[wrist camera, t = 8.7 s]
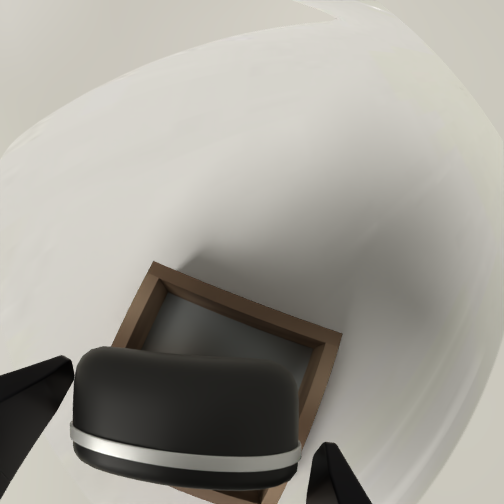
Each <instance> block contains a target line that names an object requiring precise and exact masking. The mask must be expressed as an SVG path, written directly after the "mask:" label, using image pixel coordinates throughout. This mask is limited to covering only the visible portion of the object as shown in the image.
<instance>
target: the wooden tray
mask: <svg viewBox="0 0 504 504" xmlns="http://www.w3.org/2000/svg"><path fill="white" fill-rule="evenodd" d="M341 338H342V333H339V332H336V331H333V330H330V329H327V328H324V327H321V326H319V325H316V324H313V323H310V322H307V321H304V320H302V319H299V318H296V317H293V316H291V315H288V314H285V313H282V312H280V311H277V310H274V309H272V308H269V307H266V306H264V305H261V304H258V303H256V302H253V301H251V300H248V299H245V298H243V297H240V296H238V295H235V294H232V293H230V292H227V291H225V290H222V289H220V288H217V287H215V286H212V285H210V284H207V283H205V282H202V281H200V280H198V279H195V278H193V277H190V276H188V275H185V274H183V273H181V272H178V271H176V270H173V269H171V268H169V267H166V266H164V265H162V264H159V263H157V262H155V261H153V263H152V265H151V267H150V269H149V270H148V272H147V274H146V276H145V278H144V280H143V282H142V284H141V286H140V288H139V290H138V292H137V294H136V296H135V298H134V300H133V302H132V304H131V306H130V308H129V310H128V312H127V314H126V316H125V318H124V320H123V322H122V324H121V326H120V328H119V331H118V333H117V335H116V337H115V339H114V341H113V344H112V346H111V347H120V348H129V349H137V350H145V351H154V352H162V353H174V354H186V355H199V356H216V357H240V358H257V359H267V360H272V361H274V362H276V363H279V364H281V365H283V366H284V367H285V368H286V369H287V370H288V371H290V372H291V373H292V375H293V377H294V379H295V381H296V384H297V388H298V397H299V435H298V440H299V441H300V443H301V451H302V449H303V446H304V444H305V441H306V439H307V437H308V434H309V432H310V429H311V426H312V424H313V421H314V419H315V416H316V413H317V411H318V408H319V405H320V403H321V400H322V397H323V394H324V391H325V388H326V385H327V383H328V380H329V377H330V374H331V370H332V367H333V364H334V361H335V358H336V355H337V351H338V348H339V345H340V341H341ZM286 484H287V482H286V483H283V484H281V485H279V486H276V487H272V488H267V489H262V490H247V491H226V490H206V489H193V488H183V487H175V486H170V487H173V488H175V489H177V490H180V491H182V492H185V493H187V494H190V495H192V496H195V497H198V498H200V499H203V500H206V501H209V502H212V503H215V504H277V503H278V501H279V499H280V497H281V495H282V493H283V491H284V489H285V487H286Z"/></svg>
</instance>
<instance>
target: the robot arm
mask: <svg viewBox="0 0 504 504" xmlns="http://www.w3.org/2000/svg"><path fill="white" fill-rule="evenodd" d="M74 376H75V375H74V370H73V365H72V361H71V360H70V359H69V358H67V357H65V356H63V355H61V356H57V357H54V358H52V359H49V360H46V361H43V362H40V363H37V364H34V365H31V366H28V367H25V368H22V369H19V370H16V371H13V372H10V373H7V374H3V375H0V499H1V498H2V496H3V494H4V492H5V491H6V489H7V487H8V485H9V484H10V481H11V480H12V479H13V477H14V475H15V474H16V472H17V470H18V469H19V467H20V466H21V464H22V462H23V461H24V459H25V458H26V456H27V455H28V453H29V451H30V450H31V448H32V447H33V445H34V444H35V442H36V441H37V439H38V438H39V436H40V435H41V433H42V432H43V430H44V429H45V427H46V426H47V425H48V423H49V422H50V420H51V419H52V417H53V416H54V414H55V413H56V411H57V410H58V408H59V406H60V404H61V403H62V401H63V399H64V397H65V395H66V393H67V391H68V390H69V388H70V386H71V384H72V382H73V380H74ZM306 504H372V503H371V501H370V499H369V498H368V496H367V495H366V493H365V491H364V490H363V488H362V486H361V485H360V483H359V481H358V480H357V478H356V476H355V475H354V473H353V471H352V470H351V468H350V466H349V465H348V463H347V461H346V459H345V458H344V456H343V454H342V453H341V451H340V449H339V448H338V446H337V444H335V443H331V442H324V443H322V445H321V446H320V447H319V449H318V450H317V451H316V452H315V454H314V456H313V460H312V466H311V473H310V479H309V484H308V490H307V498H306Z"/></svg>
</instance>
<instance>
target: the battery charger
mask: <svg viewBox="0 0 504 504" xmlns="http://www.w3.org/2000/svg"><path fill="white" fill-rule="evenodd" d="M298 435H299V397H298V388H297V384H296V381H295V379H294V377H293V375H292V373H291V372H290V371H288V370H287V369H286V368H285V367H284V366H283V365H281V364H279V363H276V362H274V361H272V360H267V359H257V358H240V357H216V356H199V355H186V354H174V353H162V352H154V351H145V350H137V349H129V348H120V347H106V346H103V347H99V348H95V349H91V350H90V351H89V352H87V353H86V354H85V355H83V356H82V358H81V360H80V361H79V363H78V365H77V368H76V373H75V379H74V393H73V421H71V422H70V437H71V439H72V440H73V447H74V451H75V453H76V455H77V456H78V457H79V459H80V460H81V461H83V462H84V463H86V464H88V465H90V466H92V467H93V468H96V469H99V470H102V471H105V472H108V473H111V474H115V475H119V476H123V477H127V478H131V479H136V480H140V481H145V482H150V483H156V484H162V485H168V486H175V487H183V488H193V489H206V490H226V491H247V490H262V489H267V488H272V487H276V486H279V485H281V484H283V483H286V482H288V481H290V479H291V478H292V477H293V476H294V474H295V473H296V472H297V466H298V461H299V460H300V459H301V443H300V441H299V440H298Z"/></svg>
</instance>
